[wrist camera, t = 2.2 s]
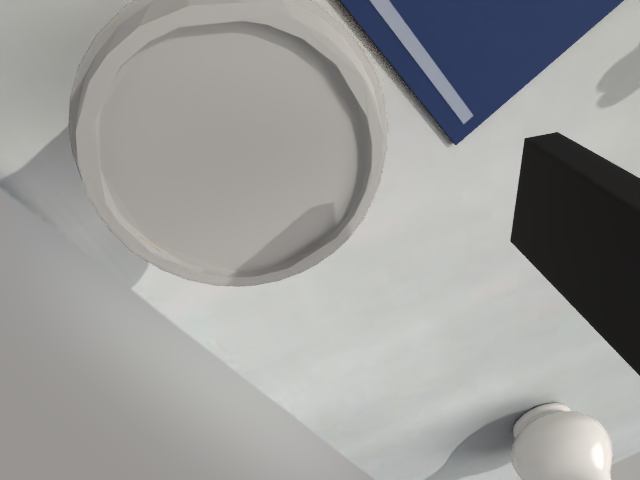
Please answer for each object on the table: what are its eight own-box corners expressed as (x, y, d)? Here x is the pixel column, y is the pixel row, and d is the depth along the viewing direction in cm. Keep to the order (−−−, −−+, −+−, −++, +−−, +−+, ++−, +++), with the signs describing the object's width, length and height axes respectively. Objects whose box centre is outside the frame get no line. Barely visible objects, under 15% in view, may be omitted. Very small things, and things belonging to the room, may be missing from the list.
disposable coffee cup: (193, -93, 19) (156, -129, 9) (363, 45, 23) (464, 122, 13) (101, 97, 22) (2, 220, 13) (263, 187, 27) (285, 332, 17)
